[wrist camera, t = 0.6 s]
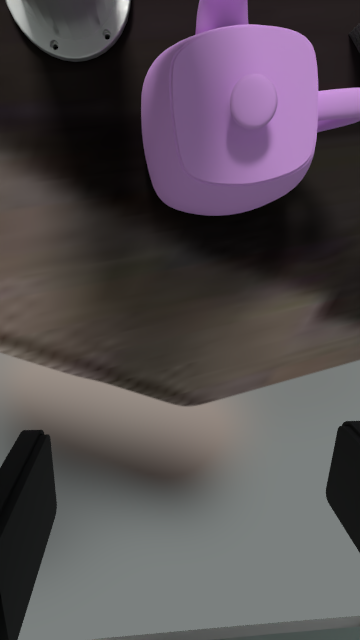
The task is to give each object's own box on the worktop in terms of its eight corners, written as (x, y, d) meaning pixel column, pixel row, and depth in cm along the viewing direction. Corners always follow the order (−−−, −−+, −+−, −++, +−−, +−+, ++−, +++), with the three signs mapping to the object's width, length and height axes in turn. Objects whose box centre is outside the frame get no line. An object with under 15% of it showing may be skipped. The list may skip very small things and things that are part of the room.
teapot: (317, 203, 43) (401, 197, 29) (153, 223, 42) (156, 227, 28) (319, -21, 36) (432, -176, 22) (123, -4, 35) (105, -155, 21)
